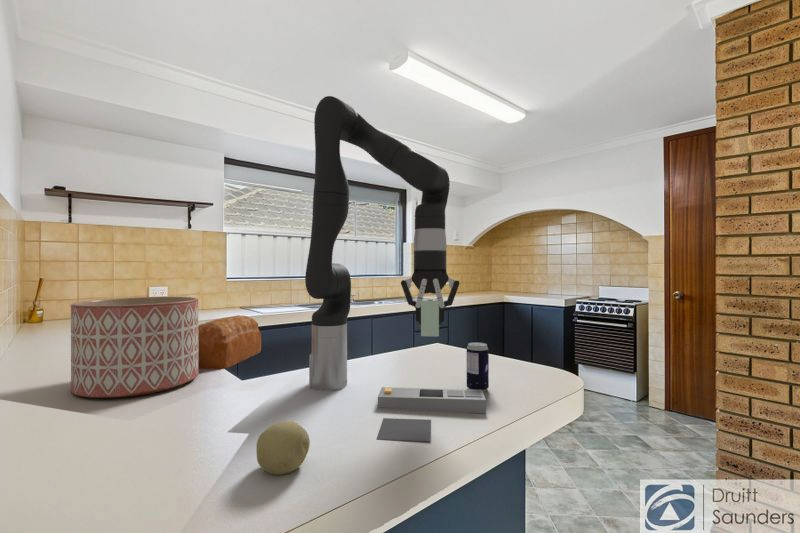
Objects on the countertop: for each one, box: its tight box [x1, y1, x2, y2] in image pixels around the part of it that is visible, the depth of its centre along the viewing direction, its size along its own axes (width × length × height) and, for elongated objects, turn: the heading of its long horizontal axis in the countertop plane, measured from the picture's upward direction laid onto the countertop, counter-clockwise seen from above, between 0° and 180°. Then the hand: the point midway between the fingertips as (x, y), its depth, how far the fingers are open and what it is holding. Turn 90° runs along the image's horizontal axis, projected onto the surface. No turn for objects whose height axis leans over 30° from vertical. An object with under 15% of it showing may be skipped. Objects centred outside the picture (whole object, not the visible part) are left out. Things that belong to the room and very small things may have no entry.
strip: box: [377, 386, 487, 414], centre depth 90 cm, size 24×7×4 cm, turn 85°
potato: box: [255, 420, 311, 476], centre depth 61 cm, size 8×8×8 cm
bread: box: [198, 314, 262, 370], centre depth 129 cm, size 14×26×16 cm, turn 174°
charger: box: [420, 298, 440, 337], centre depth 90 cm, size 4×4×8 cm
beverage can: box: [466, 341, 490, 393], centre depth 102 cm, size 6×6×12 cm
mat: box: [376, 417, 432, 444], centre depth 77 cm, size 10×10×1 cm
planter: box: [70, 296, 199, 399], centre depth 102 cm, size 27×27×24 cm
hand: (430, 323), depth 89 cm, fingers closed on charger, 3 cm apart
